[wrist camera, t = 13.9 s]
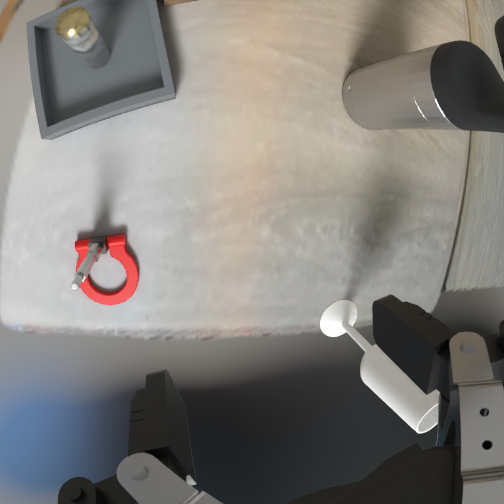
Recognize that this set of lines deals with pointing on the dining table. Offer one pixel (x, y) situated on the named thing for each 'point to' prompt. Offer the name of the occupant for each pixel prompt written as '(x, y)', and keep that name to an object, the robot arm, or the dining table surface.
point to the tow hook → (90, 255)
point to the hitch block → (174, 2)
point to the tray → (105, 78)
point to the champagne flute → (383, 372)
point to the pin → (83, 37)
